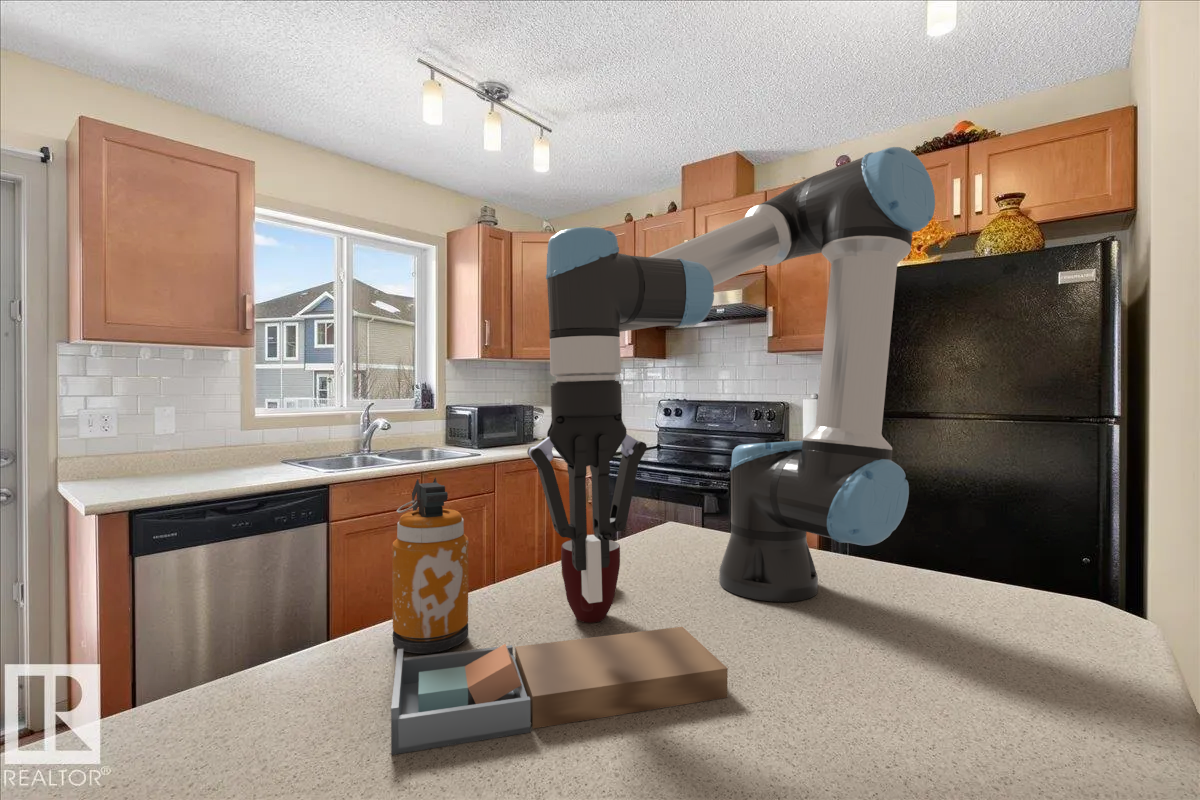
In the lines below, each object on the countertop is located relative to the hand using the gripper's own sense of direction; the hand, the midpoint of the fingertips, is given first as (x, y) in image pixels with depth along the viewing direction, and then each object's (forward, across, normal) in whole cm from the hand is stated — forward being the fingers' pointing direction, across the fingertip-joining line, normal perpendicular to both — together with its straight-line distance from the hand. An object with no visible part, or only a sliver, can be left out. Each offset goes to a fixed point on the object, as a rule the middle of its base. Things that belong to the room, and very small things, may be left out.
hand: (592, 597), depth 64 cm
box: (+8, +14, +2) cm, 17 cm away
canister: (+9, +17, -16) cm, 25 cm away
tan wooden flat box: (+9, -2, +2) cm, 9 cm away
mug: (+9, -4, -16) cm, 19 cm away
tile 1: (+5, +16, +2) cm, 17 cm away
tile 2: (+7, +11, +2) cm, 13 cm away
